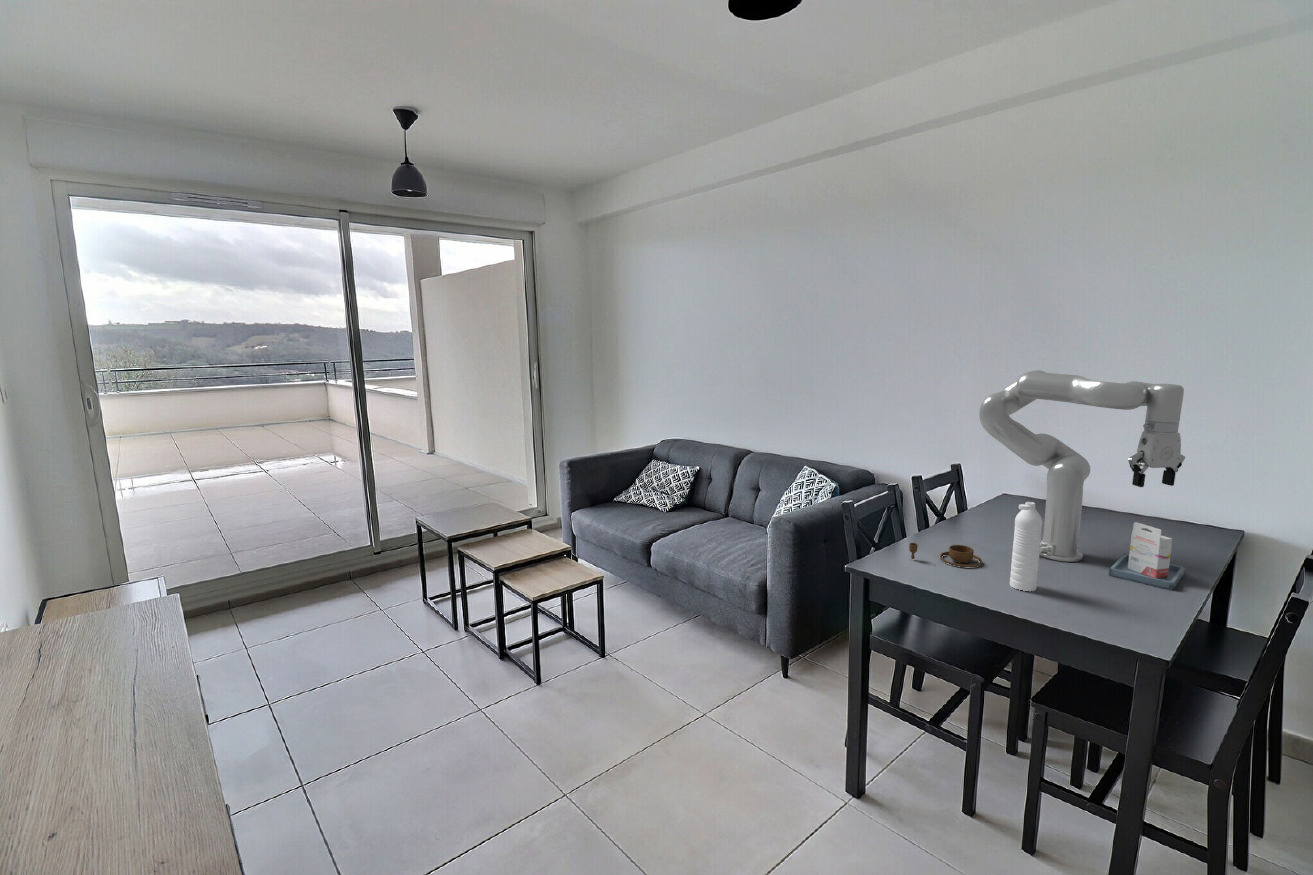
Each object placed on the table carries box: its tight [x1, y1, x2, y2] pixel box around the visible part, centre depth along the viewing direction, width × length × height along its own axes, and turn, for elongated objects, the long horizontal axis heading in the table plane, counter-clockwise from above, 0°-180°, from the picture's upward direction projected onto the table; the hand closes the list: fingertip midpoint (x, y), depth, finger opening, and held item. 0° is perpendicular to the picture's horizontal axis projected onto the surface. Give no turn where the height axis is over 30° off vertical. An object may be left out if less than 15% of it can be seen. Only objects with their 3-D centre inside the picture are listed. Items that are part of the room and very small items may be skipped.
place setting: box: [908, 542, 983, 568], centre depth 194 cm, size 18×20×6 cm
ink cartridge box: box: [1128, 521, 1173, 578], centre depth 178 cm, size 9×5×15 cm, turn 14°
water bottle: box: [1009, 501, 1043, 592], centre depth 170 cm, size 9×6×25 cm
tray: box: [1108, 554, 1186, 591], centre depth 179 cm, size 17×15×2 cm
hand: (1152, 485), depth 177 cm, fingers open, 9 cm apart
